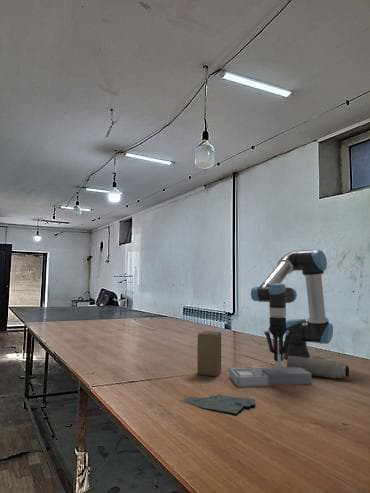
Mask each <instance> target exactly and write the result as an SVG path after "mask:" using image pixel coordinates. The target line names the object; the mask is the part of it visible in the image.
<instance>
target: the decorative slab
mask: <svg viewBox="0 0 370 493" xmlns="http://www.w3.org/2000/svg"><path fill="white" fill-rule="evenodd" d="M255 401H256V399H255V398H251V397H250V398H249V397H248V398H247V397H233V396H230V395H222V394H219V393H218V395H213V396H212V395H211V396H207V397H197V396H196V397H194V396H190V397H189V398H188V397H187V398H186V397H185V398H184V399H181V400H180V402H181V403H186V404H189V405H192V406H195V407H197V408H199V409H201V410H207V411H210V412H216V413H220V414H221V413H222V414H225V415H231V416H235V417H237V416H238V415H239V414H240V413H242V411H244V410H248V411H249V410H251V409H255V408H256V402H255Z"/></svg>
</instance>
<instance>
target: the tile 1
mask: <svg viewBox="0 0 370 493" xmlns="http://www.w3.org/2000/svg"><path fill="white" fill-rule="evenodd" d="M237 376H238V377H254V375H253V374H252V373H251V372H237Z"/></svg>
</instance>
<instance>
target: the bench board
mask: <svg viewBox="0 0 370 493" xmlns="http://www.w3.org/2000/svg"><path fill="white" fill-rule="evenodd" d="M261 368H262V372H264V373H265V374H266V375H267V376H269V386H271V385H276V386H277V385H280V386H281V385H312V383H313V382H312V376H313V375H312V374H311V373H310V372H308V371H306V370H304V369H303V368H301V367H289V368H287V367H281V369H278V368H276V367H261Z"/></svg>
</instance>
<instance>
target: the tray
mask: <svg viewBox="0 0 370 493" xmlns="http://www.w3.org/2000/svg"><path fill="white" fill-rule="evenodd" d="M228 372H229V375H228V376H229V378H230V379H231V381H232V382H233V383H234V385H235V386H236V387H239V388H241V387H243V388H244V387H270V385H269V376H267V375H266V374H265V373H264V372H262V376H257V377H238V376H237V372H251V373H252V367H244V368H242V367H241V368H240V367H235V368H232V367H231V368H229V371H228Z"/></svg>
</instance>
